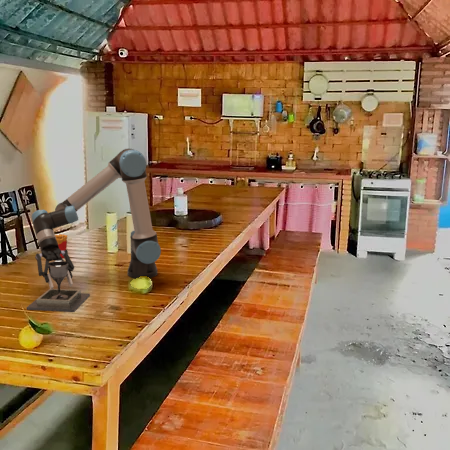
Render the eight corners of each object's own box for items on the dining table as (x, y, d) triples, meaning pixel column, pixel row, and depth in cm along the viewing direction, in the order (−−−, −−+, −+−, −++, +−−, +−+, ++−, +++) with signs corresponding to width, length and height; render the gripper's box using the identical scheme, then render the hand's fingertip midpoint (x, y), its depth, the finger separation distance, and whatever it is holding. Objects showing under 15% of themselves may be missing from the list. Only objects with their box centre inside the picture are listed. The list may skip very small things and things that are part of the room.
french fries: (50, 258, 289) (49, 235, 286) (52, 256, 293) (51, 234, 290) (67, 258, 290) (66, 235, 288) (68, 256, 295) (68, 233, 292)
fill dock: (89, 295, 231) (89, 288, 230) (74, 311, 211) (73, 303, 211) (46, 293, 232) (46, 286, 231) (26, 309, 213) (26, 301, 212)
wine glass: (49, 300, 217) (47, 266, 213) (50, 294, 224) (48, 261, 221) (68, 299, 219) (67, 265, 216) (69, 293, 226) (68, 260, 223)
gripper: (68, 243, 235) (82, 287, 226) (22, 249, 224) (35, 295, 214) (72, 234, 230) (87, 278, 221) (25, 239, 218) (38, 286, 209)
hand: (61, 286), depth 217 cm, fingers closed on wine glass, 7 cm apart
